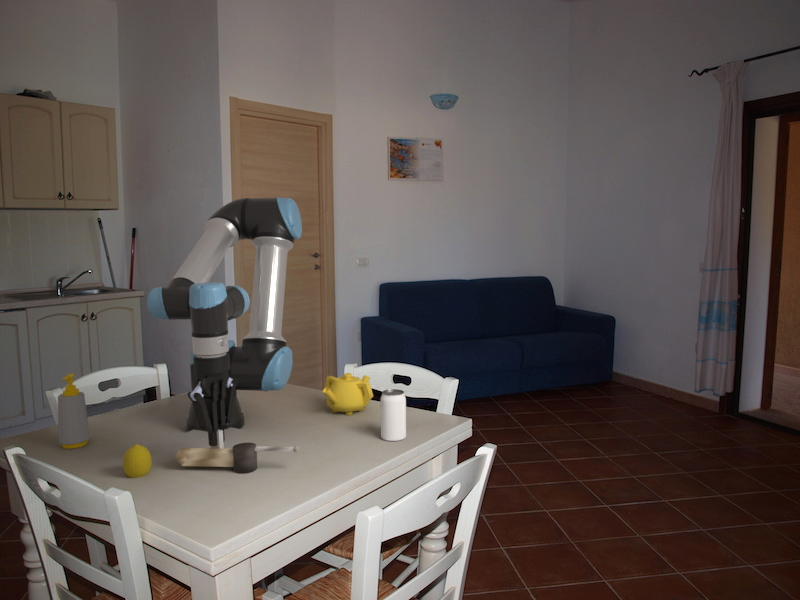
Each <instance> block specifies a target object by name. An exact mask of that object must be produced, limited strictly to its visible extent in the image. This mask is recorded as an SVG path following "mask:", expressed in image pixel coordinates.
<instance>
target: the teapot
mask: <svg viewBox="0 0 800 600" xmlns="http://www.w3.org/2000/svg"><path fill="white" fill-rule="evenodd" d="M370 379H371V377H369V376H368V375H363V376H362V378H360V377H358V376H353V374H352V373H351V372H350V373H349V372H344V373H343V375H342V376H339V377H336V376H333V375H328V376H326V379H325V383H324V388H323V389H322V393H323V394H324V396H325V397H326V401H325V402H326V404H327V406H328V407H329V408H330V409H331V413H333V414H334V413H340V412H343V413H344V412H345V416H347V417H351V416H353V415H354V412H357V411H358V412H363V411H365V410H366V409H365V408H366V407H367V406H368V404H369V402H370V401H371V399H372V398H373V397H374V393H373V390H372V385H371V383H370Z"/></svg>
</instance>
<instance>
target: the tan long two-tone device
mask: <svg viewBox="0 0 800 600" xmlns="http://www.w3.org/2000/svg"><path fill="white" fill-rule="evenodd" d="M299 451H300V446H298V445H294V446H279V445H278V446H272V445H271V446H267V445H266V446H264V445H262V446H261V445H258V446H257V444H256V443H254V442H241V443H237V444H234V445H233V446H232V448H225V447H224V448H211V447H182V448H180V449H178V451H176V452H175V456H174V457H175V461H176V463H177V464H178V465H181V467H213V468H214V467H216V468H218V467H223V468H226V467H227V468H233V469H232V470H233V472H234V473H236V474H249V473H253V472H255V471H257V469H258V452H293V453H298V452H299Z"/></svg>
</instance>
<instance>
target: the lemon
mask: <svg viewBox="0 0 800 600" xmlns="http://www.w3.org/2000/svg"><path fill="white" fill-rule="evenodd" d="M152 460H153V459H152V455H151V453H150V451H149V449H148V448H147V447H146V446H144V445H139V444H138V443H136V444H134V445H133V446H131V447H129V448H128V449H127V450H126V452H125V454H124V457H123V460H122V462H123V463H122V465H123V466H122V467H123V471H124V473H125V475H126V476H127V477H128V478H132V479H133V478H134V479H135V478H142V477H145V476H146V475H147V474H149V472H150V471H151V468H152V462H153V461H152Z"/></svg>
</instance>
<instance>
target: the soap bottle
mask: <svg viewBox="0 0 800 600" xmlns="http://www.w3.org/2000/svg"><path fill="white" fill-rule="evenodd" d="M74 376H75V373H69V374H68V375H65V376H64V377H63V378H62V380H63V381H66V383H67V385H66V386H65V388H64V390H63V391H62V393H61V394H59V395H58V396H57V417H58V418H57V419H58V421H57V422H58V424H57V425H58V443H59V444H60V445H61V447H62V449H66V450H67V449H69V450H70V449H71V450H72V449H78V448H81V447H84V446H86V445H88V441H89V440H90V438H91V436H90V427H89V420H88V413H87V405H86V396H85V392H83V391H79V390H80V389H79V388H77V386H76V384H73V382H74Z"/></svg>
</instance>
